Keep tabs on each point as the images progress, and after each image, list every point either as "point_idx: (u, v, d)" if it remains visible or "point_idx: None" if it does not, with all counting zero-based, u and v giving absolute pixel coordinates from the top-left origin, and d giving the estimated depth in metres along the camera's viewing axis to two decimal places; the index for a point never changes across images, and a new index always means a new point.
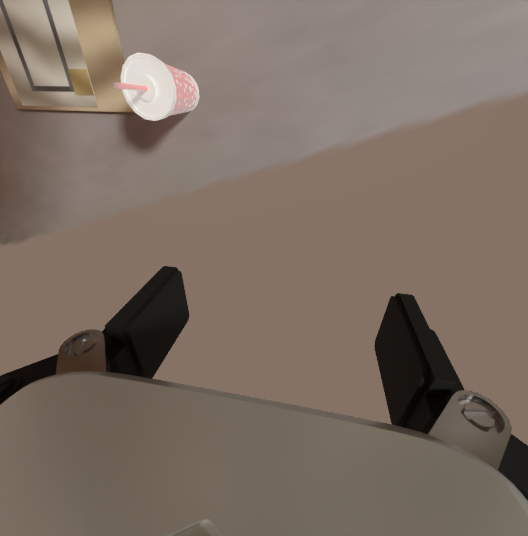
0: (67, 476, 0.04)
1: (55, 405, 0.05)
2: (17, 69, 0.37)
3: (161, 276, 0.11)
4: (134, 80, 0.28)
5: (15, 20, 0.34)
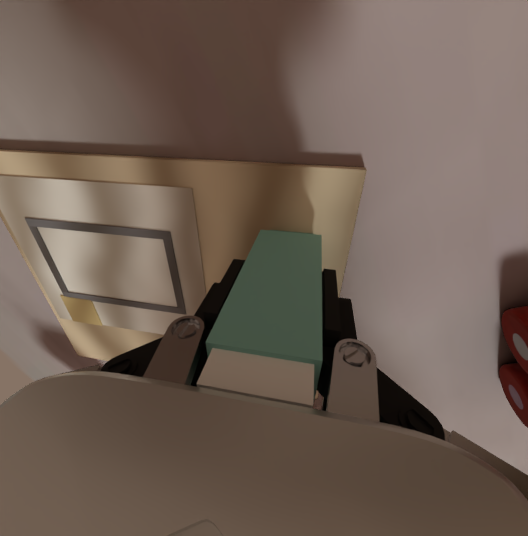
0: (67, 476, 0.04)
1: (55, 405, 0.05)
2: (49, 202, 0.18)
3: (235, 268, 0.11)
4: None
5: (129, 244, 0.18)
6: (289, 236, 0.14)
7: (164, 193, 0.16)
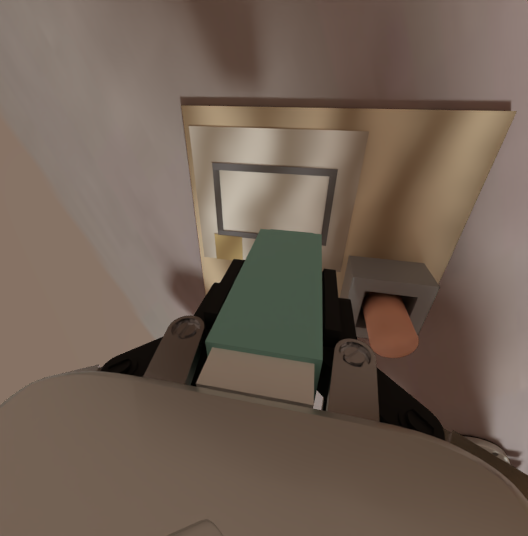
0: (67, 476, 0.04)
1: (55, 405, 0.05)
2: (239, 148, 0.23)
3: (235, 268, 0.11)
4: None
5: (295, 183, 0.23)
6: (289, 235, 0.14)
7: (344, 136, 0.21)
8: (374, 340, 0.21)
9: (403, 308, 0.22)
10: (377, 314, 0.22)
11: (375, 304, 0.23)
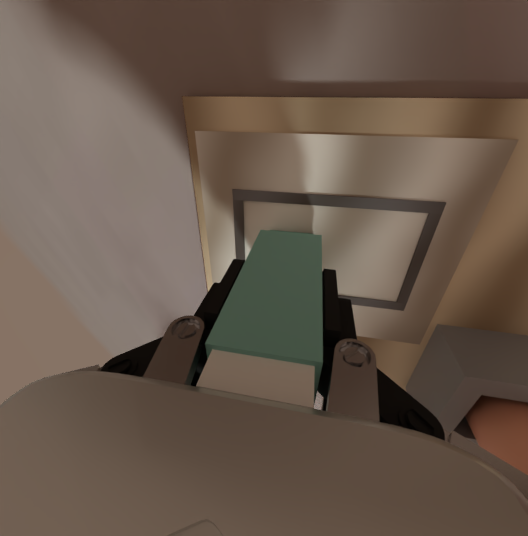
0: (67, 476, 0.04)
1: (55, 405, 0.05)
2: (278, 166, 0.14)
3: (235, 268, 0.11)
4: None
5: (368, 221, 0.14)
6: (289, 236, 0.14)
7: (469, 148, 0.12)
8: None
9: None
10: (513, 444, 0.13)
11: (500, 417, 0.14)
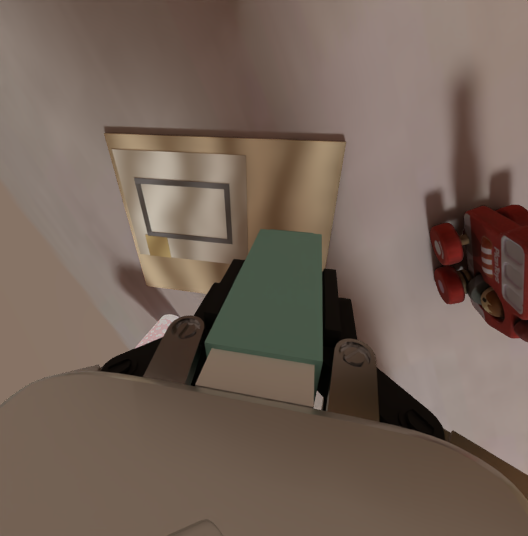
0: (67, 476, 0.04)
1: (55, 405, 0.05)
2: (153, 166, 0.28)
3: (235, 268, 0.11)
4: None
5: (200, 194, 0.29)
6: (289, 235, 0.14)
7: (228, 158, 0.26)
8: None
9: None
10: None
11: None
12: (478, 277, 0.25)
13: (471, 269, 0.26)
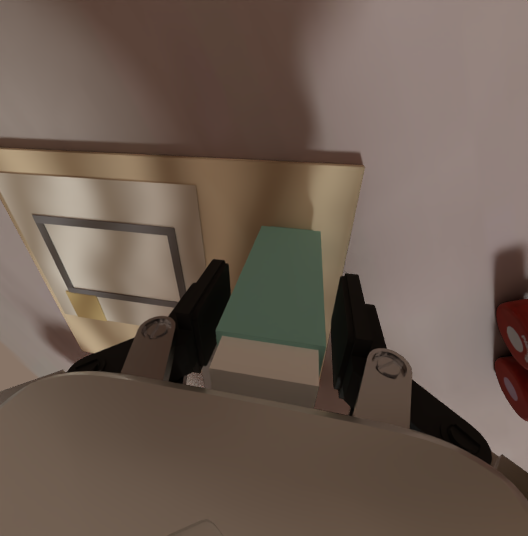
0: (67, 476, 0.04)
1: (55, 405, 0.05)
2: (57, 199, 0.18)
3: (213, 268, 0.11)
4: None
5: (133, 240, 0.19)
6: (289, 232, 0.14)
7: (169, 190, 0.16)
8: None
9: None
10: None
11: None
12: None
13: None
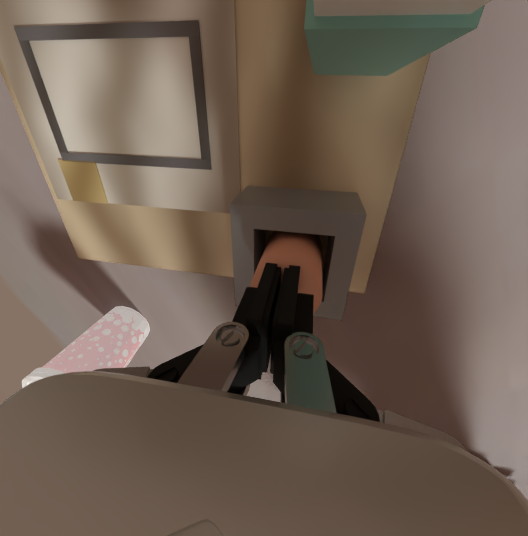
0: (67, 476, 0.04)
1: (55, 405, 0.05)
2: None
3: (270, 272, 0.11)
4: None
5: (144, 56, 0.14)
6: None
7: None
8: None
9: (310, 245, 0.14)
10: (267, 253, 0.14)
11: (272, 241, 0.15)
12: None
13: None
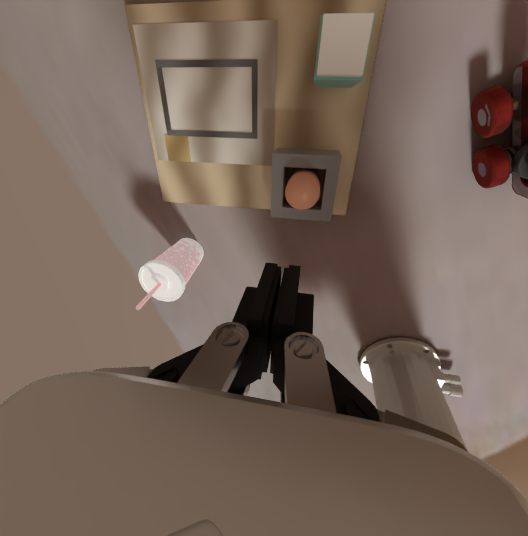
0: (67, 476, 0.04)
1: (55, 405, 0.05)
2: (176, 44, 0.27)
3: (270, 272, 0.11)
4: (164, 274, 0.33)
5: (225, 76, 0.27)
6: None
7: (258, 25, 0.25)
8: (288, 192, 0.27)
9: (314, 173, 0.28)
10: (292, 176, 0.28)
11: (294, 172, 0.29)
12: (526, 145, 0.23)
13: (517, 142, 0.24)
